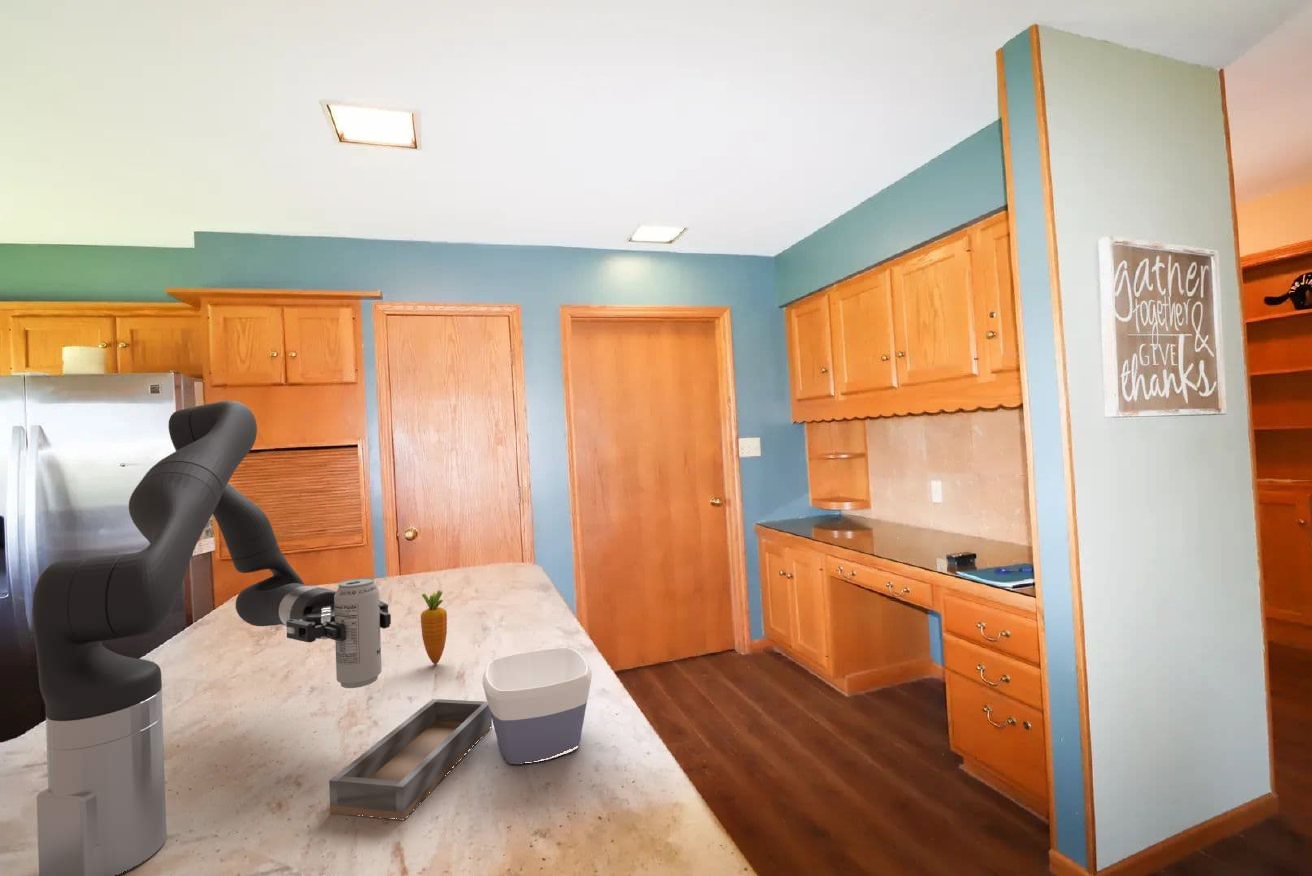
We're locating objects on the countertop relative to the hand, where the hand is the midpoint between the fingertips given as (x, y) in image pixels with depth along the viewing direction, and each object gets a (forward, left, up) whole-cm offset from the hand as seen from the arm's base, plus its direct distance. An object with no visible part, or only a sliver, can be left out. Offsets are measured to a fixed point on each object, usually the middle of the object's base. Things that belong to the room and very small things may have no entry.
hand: (366, 627), depth 85 cm
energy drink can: (+1, +2, -9) cm, 9 cm away
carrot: (+30, +8, -18) cm, 36 cm away
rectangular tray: (-4, -11, -18) cm, 21 cm away
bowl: (+4, -25, -18) cm, 31 cm away
